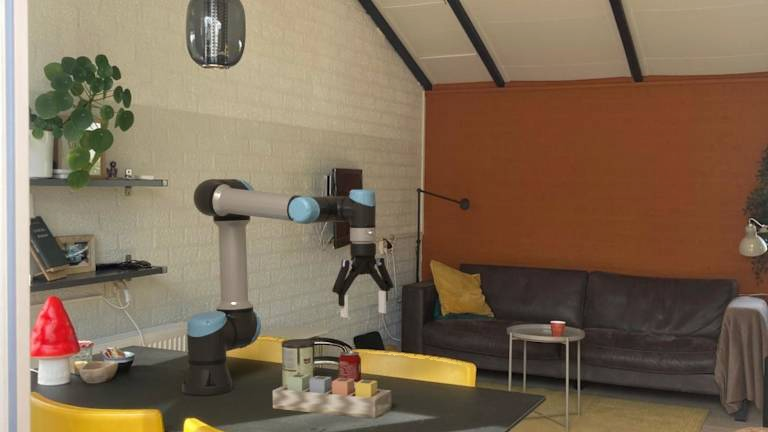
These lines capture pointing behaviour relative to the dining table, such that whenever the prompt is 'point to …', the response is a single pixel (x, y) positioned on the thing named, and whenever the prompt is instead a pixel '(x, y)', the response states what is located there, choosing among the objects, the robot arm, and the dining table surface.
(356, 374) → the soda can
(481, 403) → the dining table surface
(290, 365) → the coffee can
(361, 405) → the wooden tray
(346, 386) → the terracotta key
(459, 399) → the dining table surface
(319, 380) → the slate key
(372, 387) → the mustard key
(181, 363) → the dining table surface
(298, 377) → the sage key
